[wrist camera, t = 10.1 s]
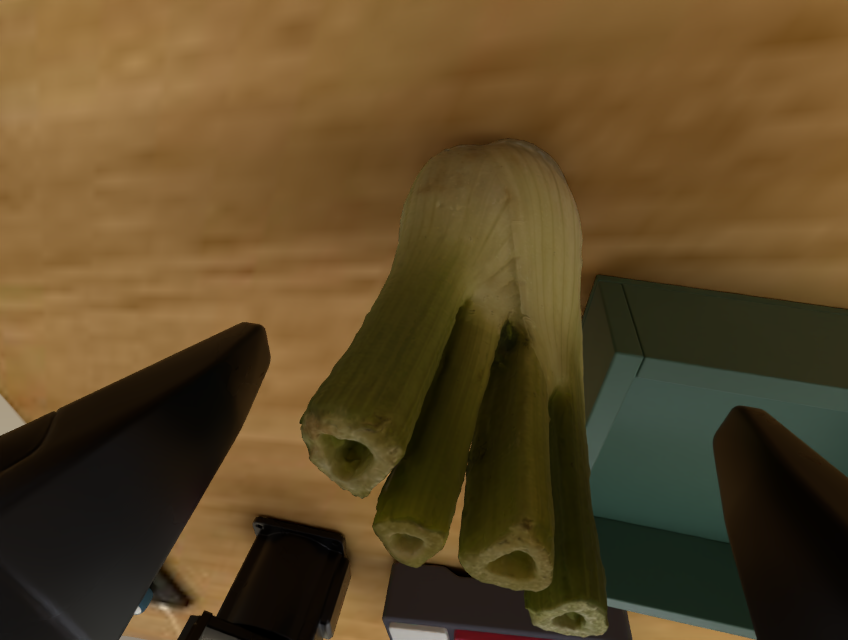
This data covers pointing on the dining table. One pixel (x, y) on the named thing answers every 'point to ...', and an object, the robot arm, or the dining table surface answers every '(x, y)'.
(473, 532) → the fennel bulb
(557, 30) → the dining table surface
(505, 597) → the calculator
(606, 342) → the tote
